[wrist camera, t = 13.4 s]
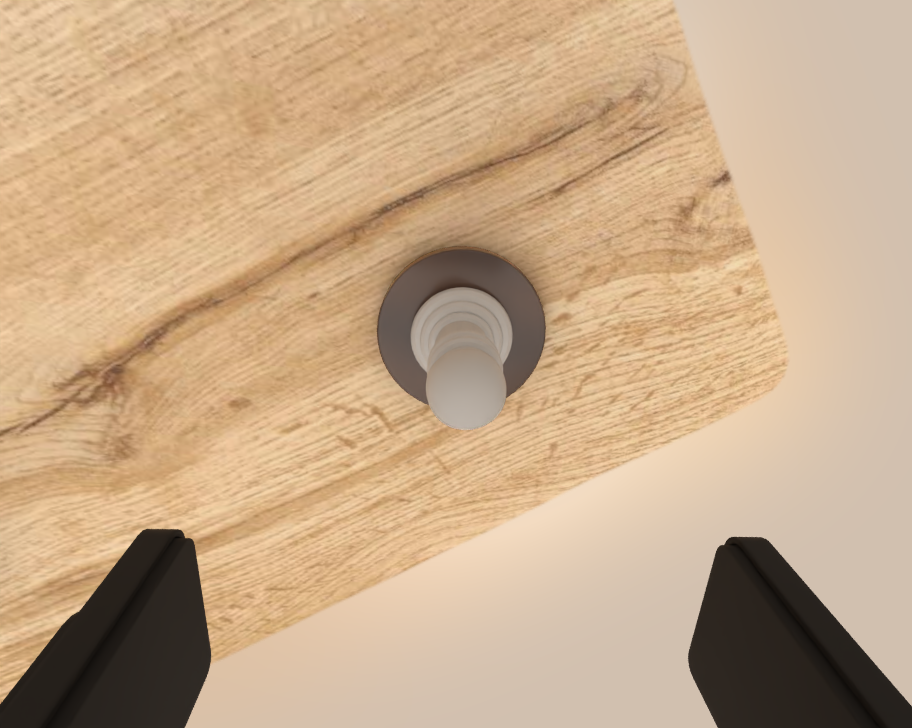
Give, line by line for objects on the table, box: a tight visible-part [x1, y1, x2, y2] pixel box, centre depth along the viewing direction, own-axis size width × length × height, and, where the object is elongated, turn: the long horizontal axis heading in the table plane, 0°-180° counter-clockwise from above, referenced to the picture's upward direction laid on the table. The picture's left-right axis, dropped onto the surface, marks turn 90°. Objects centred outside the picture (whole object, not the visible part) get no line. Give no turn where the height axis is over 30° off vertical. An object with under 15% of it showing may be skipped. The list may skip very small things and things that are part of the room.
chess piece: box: [411, 287, 513, 430], centre depth 25 cm, size 5×5×9 cm
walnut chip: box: [377, 246, 546, 405], centre depth 30 cm, size 9×9×1 cm
